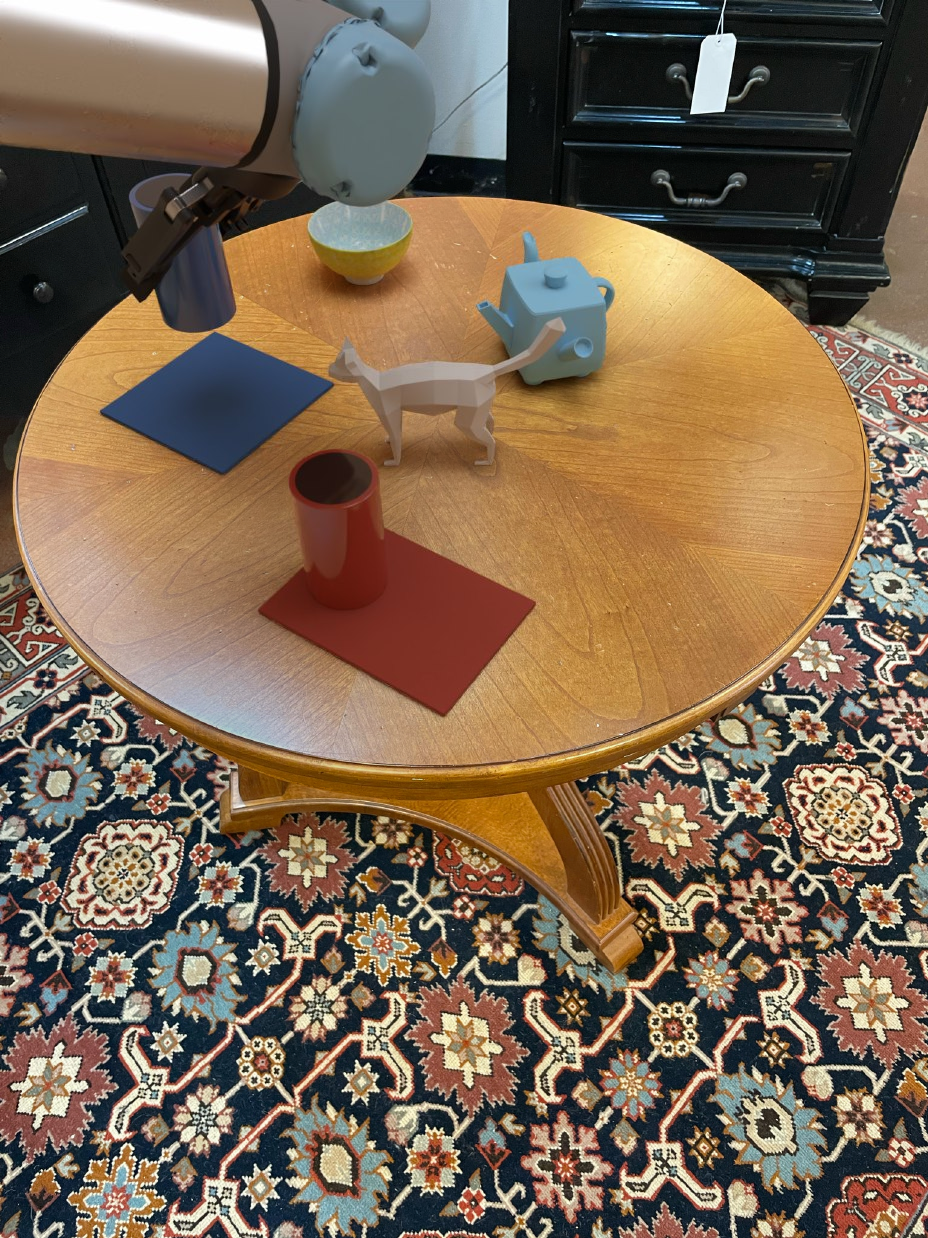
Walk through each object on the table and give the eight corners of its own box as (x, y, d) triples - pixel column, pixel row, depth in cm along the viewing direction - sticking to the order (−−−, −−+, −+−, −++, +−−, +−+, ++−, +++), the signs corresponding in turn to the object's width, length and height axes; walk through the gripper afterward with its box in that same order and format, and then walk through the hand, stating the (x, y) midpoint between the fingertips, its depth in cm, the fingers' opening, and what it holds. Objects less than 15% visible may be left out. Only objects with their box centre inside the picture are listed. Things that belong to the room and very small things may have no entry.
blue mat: (100, 413, 92) (99, 410, 92) (215, 334, 101) (214, 330, 100) (223, 475, 86) (222, 472, 86) (334, 385, 95) (333, 382, 95)
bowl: (432, 285, 107) (431, 233, 102) (338, 313, 103) (332, 260, 98) (389, 239, 113) (385, 188, 108) (298, 264, 110) (291, 211, 105)
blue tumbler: (146, 317, 85) (111, 196, 77) (198, 284, 89) (170, 165, 80) (200, 341, 83) (170, 219, 75) (251, 306, 87) (228, 185, 78)
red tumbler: (290, 587, 77) (268, 485, 69) (341, 539, 81) (326, 436, 72) (354, 622, 75) (340, 521, 66) (404, 571, 78) (397, 469, 70)
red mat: (258, 612, 76) (257, 609, 76) (358, 517, 83) (357, 514, 83) (444, 717, 70) (444, 714, 69) (536, 604, 77) (536, 601, 76)
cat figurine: (340, 437, 90) (323, 303, 79) (552, 434, 90) (565, 301, 79) (337, 469, 87) (319, 335, 76) (556, 466, 87) (569, 332, 76)
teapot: (638, 401, 93) (654, 310, 86) (501, 426, 91) (505, 334, 83) (575, 303, 104) (584, 214, 97) (451, 323, 102) (450, 233, 94)
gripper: (211, 229, 63) (109, 358, 81) (389, 120, 73) (263, 257, 91) (132, 126, 60) (45, 283, 79) (327, 29, 71) (211, 187, 89)
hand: (162, 269), depth 85 cm, fingers closed on blue tumbler, 7 cm apart
